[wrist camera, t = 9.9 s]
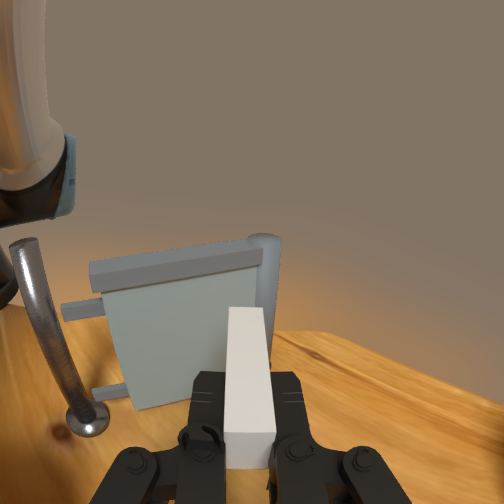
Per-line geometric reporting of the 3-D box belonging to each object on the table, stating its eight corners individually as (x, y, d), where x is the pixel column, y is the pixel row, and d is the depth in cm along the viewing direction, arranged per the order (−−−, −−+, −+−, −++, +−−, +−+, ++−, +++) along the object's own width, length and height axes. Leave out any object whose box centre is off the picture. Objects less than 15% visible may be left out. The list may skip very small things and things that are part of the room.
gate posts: (69, 439, 17) (-14, 261, 11) (66, 385, 23) (14, 225, 17) (260, 395, 25) (275, 220, 19) (230, 351, 30) (232, 197, 24)
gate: (104, 424, 19) (49, 279, 14) (101, 404, 21) (53, 263, 16) (273, 380, 26) (289, 242, 21) (261, 364, 28) (271, 231, 23)
